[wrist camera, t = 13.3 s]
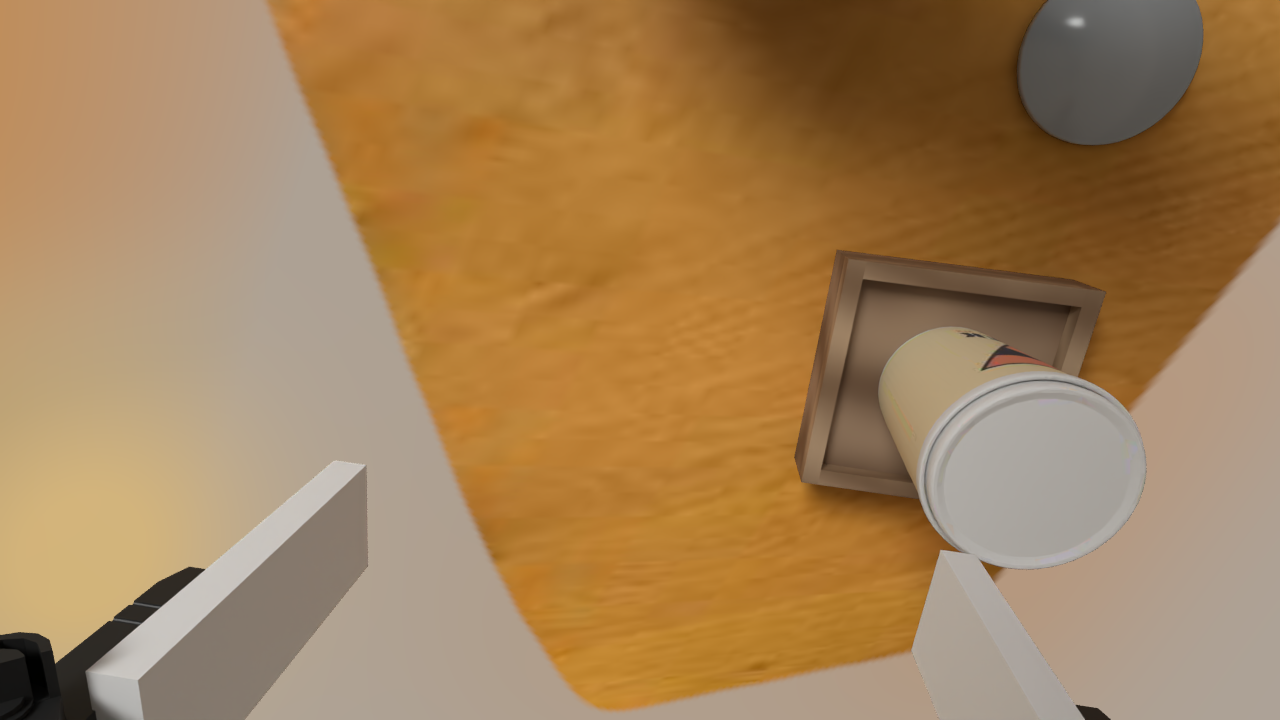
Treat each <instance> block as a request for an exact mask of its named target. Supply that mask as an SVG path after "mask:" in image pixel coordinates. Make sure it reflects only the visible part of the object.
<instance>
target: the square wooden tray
mask: <svg viewBox="0 0 1280 720" xmlns="http://www.w3.org/2000/svg"><path fill="white" fill-rule="evenodd" d="M1105 294H1106V292H1105V291H1102V290H1100V289H1097V288H1094V287H1091V286H1089V285H1086V284H1083V283H1080V282H1078V281H1075V280H1070V279H1063V278H1055V277H1047V276H1039V275H1031V274H1023V273H1015V272H1007V271H1000V270H992V269H984V268H976V267H968V266H960V265H952V264H944V263H936V262H929V261H921V260H913V259H905V258H897V257H889V256H881V255H873V254H866V253H858V252H850V251H842V250H837V253H836V257H835V262H834V267H833V272H832V277H831V282H830V287H829V292H828V296H827V301H826V306H825V311H824V316H823V321H822V326H821V331H820V336H819V340H818V345H817V350H816V355H815V360H814V365H813V370H812V375H811V379H810V384H809V389H808V394H807V399H806V404H805V409H804V414H803V419H802V423H801V428H800V433H799V438H798V443H797V448H796V453H795V461H796V464H797V468H798V471H799V475H800V478H801V482H804V483H811V484H818V485H825V486H832V487H838V488H845V489H852V490H859V491H866V492H873V493H880V494H887V495H894V496H900V497H907V498H914V499H919V495H918V491H917V489H916V487H915V485H914V483H913V481H912V479H911V477H910V475H909V473H908V471H907V468H906V466H905V464H904V462H903V460H902V457H901V455H900V453H899V451H898V449H897V446H896V444H895V442H894V440H893V438H892V435H891V433H890V431H889V429H888V427H887V424H886V422H885V419H884V417H883V414H882V411H881V409H880V404H879V397H878V388H879V382H880V377H881V375H882V372H883V369H884V367H885V365H886V363H887V362H888V360H889V359H890V357H891V356H892V355H893V354H894V352H895V351H896V350H897V349H898V348H899V347H900V346H901V345H903V344H904V343H905V342H906V341H908V340H909V339H911V338H913V337H915V336H916V335H918V334H920V333H923V332H925V331H928V330H931V329H936V328H941V327H962V328H968V329H971V330H975V331H978V332H980V333H983V334H985V335H987V336H990V337H992V338H994V339H996V340H998V341H1000V342H1002V343H1004V344H1007V345H1009V346H1011V347H1013V348H1015V349H1017V350H1019V351H1021V352H1023V353H1025V354H1027V355H1030V356H1032V357H1034V358H1036V359H1038V360H1040V361H1042V362H1044V363H1046V364H1048V365H1050V366H1052V367H1054V368H1056V369H1058V370H1060V371H1062V372H1064V373H1066V374H1068V375H1072V376H1075V377H1078V375H1079V372H1080V369H1081V366H1082V363H1083V360H1084V357H1085V354H1086V351H1087V348H1088V345H1089V342H1090V339H1091V336H1092V333H1093V330H1094V327H1095V324H1096V321H1097V318H1098V315H1099V312H1100V309H1101V306H1102V303H1103V300H1104V297H1105Z"/></svg>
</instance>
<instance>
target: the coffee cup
mask: <svg viewBox="0 0 1280 720" xmlns="http://www.w3.org/2000/svg"><path fill="white" fill-rule="evenodd" d="M878 397H879V404H880V409H881V411H882V414H883V417H884V419H885V422H886V424H887V427H888V429H889V431H890V433H891V435H892V438H893V440H894V442H895V444H896V446H897V449H898V451H899V453H900V455H901V457H902V460H903V462H904V464H905V466H906V468H907V471H908V473H909V475H910V477H911V479H912V481H913V483H914V485H915V487H916V489H917V491H918V495H919V499H920V502H921V505H922V507H923V510H924V512H925V514H926V516H927V518H928V520H929V521H930V523H931V524H932V526H933V527H934V529H935V530H936V531H937V532H938V533H939V534H940V535H941V536H942V538H944V539H945V540H946V541H947V542H948V543H949V544H950V545H952V546H953V547H955V548H956V549H958V550H959V551H961V552H963V553H966V554H973V555H976V556H977V557H978V559H979V560H980V561H984V562H986V563H989V564H992V565H995V566H999V567H1004V568H1010V569H1028V570H1029V569H1041V568H1048V567H1054V566H1057V565H1061V564H1064V563H1068V562H1071V561H1074V560H1076V559H1078V558H1080V557H1082V556H1084V555H1087V554H1088V553H1090V552H1092V551H1094V550H1096V549H1097V548H1098V547H1100V546H1101V545H1103V544H1104V543H1105V542H1107V541H1108V540H1109V539H1110V538H1112V537H1113V536H1114V535H1115V534H1116V533H1117V532H1118V531H1119V530H1120V529H1121V527H1122V526H1123V525H1124V524H1125V523H1126V522H1127V521H1128V519H1129V518H1130V516H1131V515H1132V513H1133V511H1134V509H1135V508H1136V506H1137V504H1138V502H1139V500H1140V497H1141V494H1142V492H1143V488H1144V484H1145V478H1146V456H1145V450H1144V447H1143V442H1142V438H1141V435H1140V432H1139V430H1138V427H1137V425H1136V423H1135V421H1134V420H1133V418H1132V416H1131V415H1130V414H1129V412H1128V411H1127V410H1126V409H1125V407H1124V406H1123V405H1122V404H1121V403H1120V402H1119V401H1118V400H1117V399H1115V398H1114V397H1113V396H1112V395H1111V394H1109V393H1108V392H1107V391H1105V390H1104V389H1102V388H1100V387H1098V386H1097V385H1095V384H1093V383H1090V382H1088V381H1086V380H1083V379H1081V378H1078V377H1075V376H1072V375H1068V374H1066V373H1064V372H1062V371H1060V370H1058V369H1056V368H1054V367H1052V366H1050V365H1048V364H1046V363H1044V362H1042V361H1040V360H1038V359H1036V358H1034V357H1032V356H1030V355H1027V354H1025V353H1023V352H1021V351H1019V350H1017V349H1015V348H1013V347H1011V346H1009V345H1007V344H1004V343H1002V342H1000V341H998V340H996V339H994V338H992V337H990V336H987V335H985V334H983V333H980V332H978V331H975V330H971V329H968V328H962V327H941V328H936V329H931V330H928V331H925V332H923V333H920V334H918V335H916V336H915V337H913V338H911V339H909V340H908V341H906V342H905V343H904V344H903V345H901V346H900V347H899V348H898V349H897V350H896V351H895V352H894V354H893V355H892V356H891V357H890V359H889V360H888V362H887V363H886V365H885V367H884V369H883V372H882V375H881V377H880V382H879V388H878Z"/></svg>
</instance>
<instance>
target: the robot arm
mask: <svg viewBox="0 0 1280 720" xmlns="http://www.w3.org/2000/svg"><path fill="white" fill-rule="evenodd" d="M367 544H368V541H367V475H366V465H363V464H356V463H349V462H342V461H336V460H334V461H333V462H332V463H331V464H329V465H328V466H327V467H326V468H325V469H324V470H323V471H321V472H320V473H319V474H318V475H317V476H315V477H314V478H313V479H312V480H311V481H309V482H308V483H307V484H306V485H305V486H303V487H302V488H301V489H300V490H299V491H298V492H296V493H295V494H294V495H293V496H292V497H291V498H289V499H288V500H287V501H286V502H285V503H283V504H282V505H281V506H280V507H279V508H278V509H276V510H275V511H274V512H273V513H272V514H271V515H269V516H268V517H267V518H266V519H265V520H263V521H262V522H261V523H260V524H259V525H257V526H256V527H255V528H254V529H253V530H252V531H251V532H249V533H248V534H247V535H246V536H245V537H243V538H242V539H241V540H240V541H239V542H238V543H236V544H235V545H234V546H233V547H232V548H230V549H229V550H228V551H227V552H226V553H225V554H223V555H222V556H221V557H220V558H219V559H218V560H216V561H215V562H214V563H213V564H211V565H210V566H209V567H208V568H207V569H201V568H194V567H188V568H186V569H184V570H182V571H180V572H178V573H175V574H173V575H171V576H169V577H167V578H165V579H163V580H161V581H159V582H157V583H156V584H155V585H153V586H152V587H151V588H150V589H148V590H147V591H146V592H145V593H144V594H142V595H141V596H140V597H139V598H137V599H136V600H135V601H134V604H133V605H128V606H127V607H126V608H125V609H123V610H122V611H121V612H120V613H118V614H117V615H116V616H115V617H114V620H113V621H108V622H107V623H106V624H105V625H103V626H102V627H101V628H100V629H98V630H97V631H96V632H95V633H93V634H92V635H91V636H90V637H88V638H87V639H86V640H84V641H83V642H82V643H81V644H79V645H78V646H77V647H76V648H74V649H73V650H72V651H71V652H69V653H68V654H67V655H66V656H64V657H63V658H62V659H61V660H59V661H58V662H57V663H56V664H55V661H54V656H53V651H52V648H51V644H50V640H49V639H47V638H45V637H43V636H41V635H39V634H36V633H21V632H18V633H12V634H5V635H0V720H245V719H246V717H247V716H248V715H249V714H250V712H251V711H252V710H253V709H254V707H255V706H256V705H257V703H258V702H259V701H260V700H261V699H262V697H263V696H264V695H265V694H266V693H267V691H268V690H269V689H270V688H271V686H272V685H273V684H274V683H275V681H276V680H277V679H278V678H279V676H280V675H281V674H282V673H283V671H284V670H285V669H286V668H287V666H288V665H289V664H290V663H291V661H292V660H293V659H294V658H295V656H296V655H297V654H298V653H299V651H300V650H301V649H302V648H303V646H304V645H305V644H306V643H307V641H308V640H309V639H310V638H311V636H312V635H313V634H314V633H315V631H316V630H317V629H318V628H319V626H320V625H321V624H322V623H323V621H324V620H325V619H326V618H327V616H328V615H329V614H330V613H331V612H332V610H333V609H334V608H335V607H336V605H337V604H338V603H339V602H340V600H341V599H342V598H343V597H344V595H345V594H346V593H347V592H348V590H349V589H350V588H351V586H352V585H353V584H354V583H355V582H356V580H357V579H358V578H359V577H360V575H361V574H362V573H363V572H364V570H365V569H366V568H367V567H368V545H367ZM911 651H912V654H913V656H914V659H915V661H916V664H917V666H918V668H919V671H920V673H921V676H922V678H923V681H924V683H925V685H926V688H927V691H928V693H929V695H930V698H931V700H932V703H933V705H934V708H935V710H936V713H937V715H938V718H939V720H1110V719H1109V718H1108V717H1107V716H1106V715H1105V714H1104V713H1102V711H1100V710H1099V709H1098V708H1093V707H1086V706H1080V705H1075V704H1074V702H1073V701H1072V699H1071V698H1070V696H1069V695H1068V693H1067V692H1066V690H1065V689H1064V687H1063V686H1062V684H1061V683H1060V681H1059V680H1058V678H1057V677H1056V675H1055V674H1054V672H1053V671H1052V669H1051V668H1050V666H1049V665H1048V663H1047V662H1046V660H1045V659H1044V657H1043V656H1042V654H1041V653H1040V651H1039V650H1038V648H1037V647H1036V646H1035V644H1034V642H1033V641H1032V639H1031V637H1030V636H1029V634H1028V633H1027V631H1026V630H1025V628H1024V627H1023V625H1022V624H1021V622H1020V621H1019V620H1018V618H1017V616H1016V615H1015V613H1014V612H1013V610H1012V609H1011V607H1010V606H1009V604H1008V603H1007V601H1006V600H1005V598H1004V597H1003V595H1002V594H1001V593H1000V591H999V589H998V588H997V586H996V585H995V583H994V582H993V580H992V579H991V577H990V575H989V574H988V572H987V571H986V569H985V568H984V566H983V565H982V563H981V562H980V560H979V559H978V557H977V556H976V555H973V554H966V553H959V552H953V551H946V550H940V554H939V557H938V561H937V564H936V568H935V571H934V575H933V578H932V581H931V585H930V588H929V592H928V595H927V599H926V602H925V605H924V609H923V612H922V616H921V619H920V623H919V626H918V629H917V633H916V636H915V640H914V643H913V647H912V650H911Z"/></svg>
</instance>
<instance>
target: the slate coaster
mask: <svg viewBox="0 0 1280 720" xmlns="http://www.w3.org/2000/svg"><path fill="white" fill-rule="evenodd" d="M1202 45H1203V24H1202V17H1201V13H1200V10H1199V6H1198V4H1197V2H1196V0H1047V1H1046V2H1045V3H1044V4H1043V6H1042V7H1041V8H1040V9H1039V11H1038V12H1037V13H1036V15H1035V16H1034V18H1033V20H1032V21H1031V23H1030V25H1029V27H1028V29H1027V31H1026V33H1025V35H1024V38H1023V41H1022V44H1021V47H1020V51H1019V56H1018V61H1017V84H1018V90H1019V94H1020V97H1021V100H1022V103H1023V105H1024V107H1025V109H1026V111H1027V113H1028V114H1029V116H1030V117H1031V119H1032V120H1033V121H1034V122H1035V123H1036V124H1037V125H1038V126H1039V127H1040V128H1041V129H1042V130H1043V131H1045V132H1046V133H1048V134H1049V135H1051V136H1053V137H1055V138H1057V139H1059V140H1062V141H1065V142H1068V143H1073V144H1078V145H1102V144H1110V143H1114V142H1119V141H1122V140H1125V139H1128V138H1130V137H1133V136H1135V135H1137V134H1139V133H1141V132H1143V131H1144V130H1146V129H1148V128H1149V127H1151V126H1152V125H1154V124H1155V123H1156V122H1158V121H1159V120H1160V119H1162V118H1163V117H1164V116H1165V115H1166V114H1167V113H1168V112H1169V111H1170V110H1171V109H1172V108H1173V107H1174V106H1175V105H1176V103H1177V102H1178V101H1179V100H1180V98H1181V97H1182V96H1183V94H1184V93H1185V91H1186V90H1187V88H1188V86H1189V84H1190V83H1191V81H1192V79H1193V77H1194V74H1195V72H1196V69H1197V67H1198V64H1199V60H1200V57H1201V52H1202Z"/></svg>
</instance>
